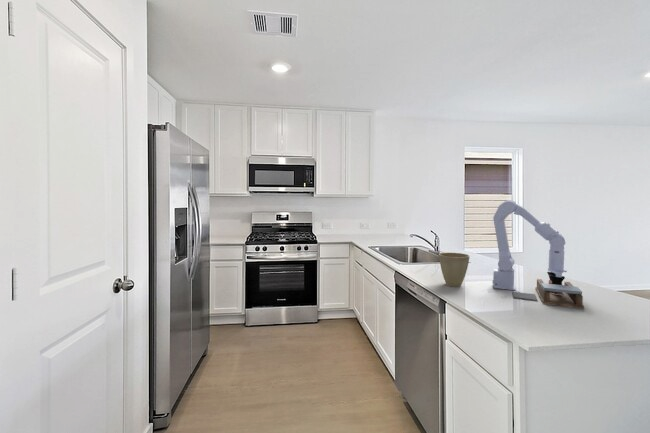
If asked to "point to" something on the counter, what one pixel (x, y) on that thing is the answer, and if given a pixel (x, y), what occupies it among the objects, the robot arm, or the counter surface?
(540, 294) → the brown tray
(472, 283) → the counter surface
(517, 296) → the mat
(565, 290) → the lid
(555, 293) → the block
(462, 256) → the plant pot
